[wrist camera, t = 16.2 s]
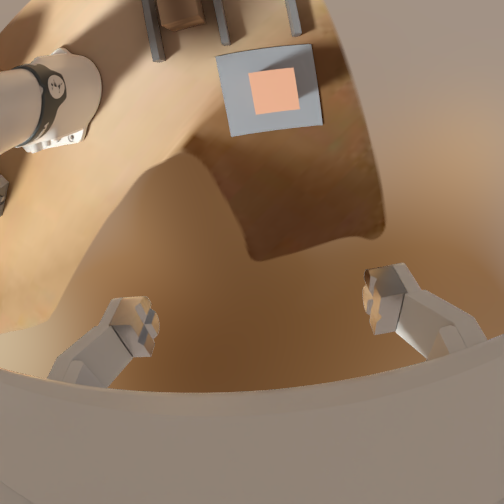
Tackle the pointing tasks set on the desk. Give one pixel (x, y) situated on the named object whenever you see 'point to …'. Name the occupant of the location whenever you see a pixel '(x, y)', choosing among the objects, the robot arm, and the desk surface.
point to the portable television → (3, 192)
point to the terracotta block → (274, 90)
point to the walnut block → (180, 14)
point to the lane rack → (220, 15)
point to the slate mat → (240, 94)
